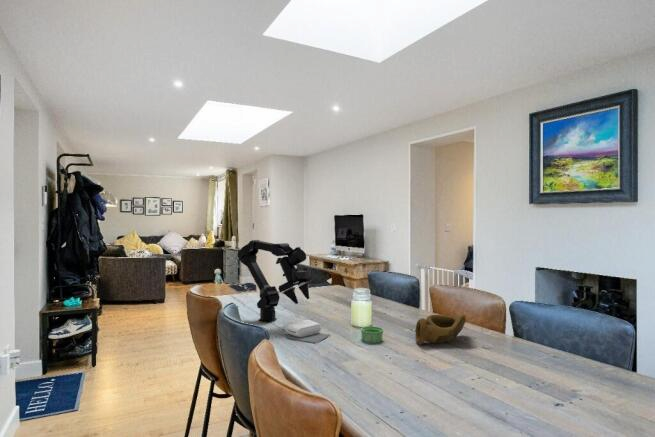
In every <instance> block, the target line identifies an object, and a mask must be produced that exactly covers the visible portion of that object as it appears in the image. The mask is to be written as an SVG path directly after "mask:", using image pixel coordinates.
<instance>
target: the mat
mask: <svg viewBox="0 0 655 437" xmlns="http://www.w3.org/2000/svg"><path fill="white" fill-rule="evenodd" d="M330 335H331V334H329V333H323V332H321V333H320V332H319V333H316V334H312V335H308V336H304V337H296V336H293V335H291V334H290V335H289V336H287V337H285V339H286V338H288V339H287V340H292V339H293V341H297V340H299V341H298V342H303V341H305V342H304V343H309V342H310V344H315V343H317V344H318V342H319V343H320V342H322V341H324V340H326V339H327V337H328V336H329V337H331V336H330ZM329 337H328V338H329ZM325 338H326V339H325ZM323 339H324V340H323Z"/></svg>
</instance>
